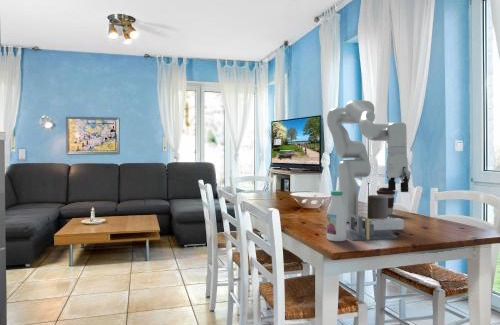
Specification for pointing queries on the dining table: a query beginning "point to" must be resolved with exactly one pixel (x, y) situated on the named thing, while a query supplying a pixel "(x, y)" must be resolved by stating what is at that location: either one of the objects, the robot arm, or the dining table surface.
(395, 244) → the dining table surface
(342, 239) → the milk bottle
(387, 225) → the white post with dot
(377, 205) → the pillar candle
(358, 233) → the collar rail
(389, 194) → the coffee cup
